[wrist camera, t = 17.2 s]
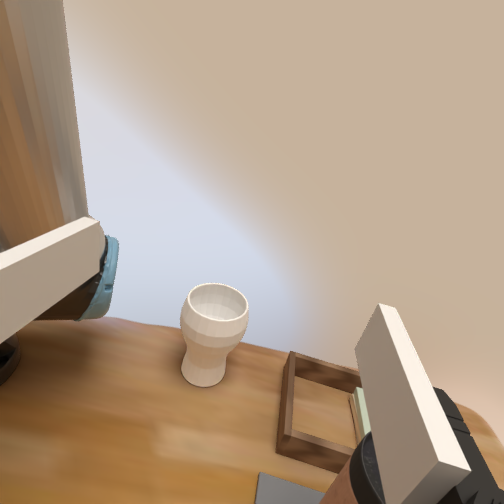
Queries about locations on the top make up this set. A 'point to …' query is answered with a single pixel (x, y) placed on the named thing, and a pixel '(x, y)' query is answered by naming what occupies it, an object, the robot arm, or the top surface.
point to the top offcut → (362, 412)
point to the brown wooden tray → (287, 438)
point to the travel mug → (358, 478)
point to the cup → (211, 331)
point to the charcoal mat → (284, 492)
